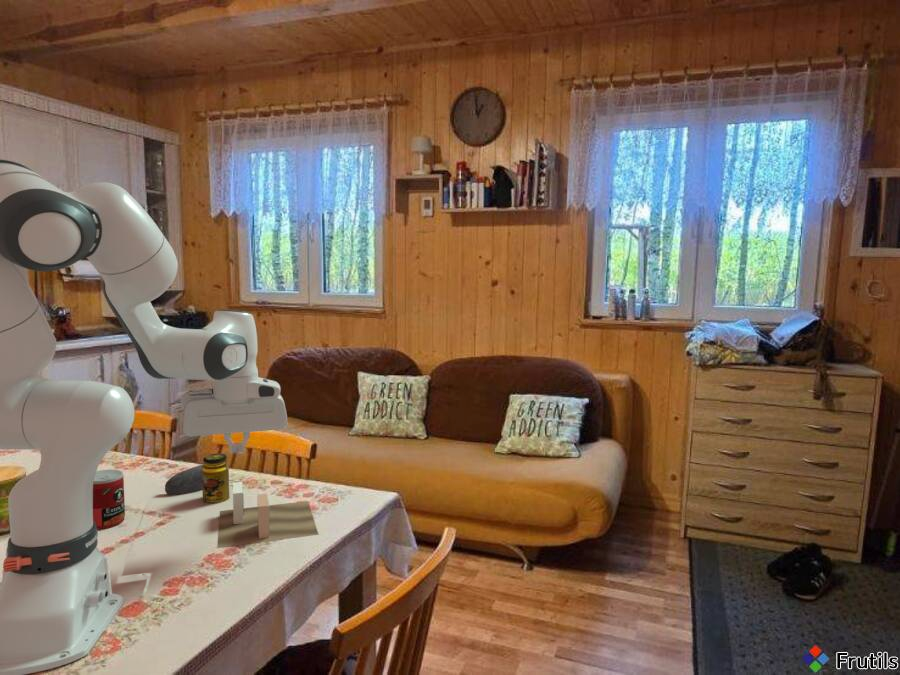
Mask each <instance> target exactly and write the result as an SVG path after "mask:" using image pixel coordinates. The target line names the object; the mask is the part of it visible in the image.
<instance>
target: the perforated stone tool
mask: <svg viewBox="0 0 900 675" xmlns="http://www.w3.org/2000/svg"><path fill="white" fill-rule="evenodd" d="M203 467H204V466H203V464H200V465H196V466H193V467H191V468H188V469H185V470H183V471H181V472H178V473H177V474H174V475H173V476H171V477H170V478H169V479H168V480H167V481H166V482H165V484H164V491H165V493H166V494H167V495H168V496H175V495H184V494H189V493H196V492H200V491H202V490H203V489H202V469H203Z"/></svg>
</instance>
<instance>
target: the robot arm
mask: <svg viewBox="0 0 900 675" xmlns="http://www.w3.org/2000/svg"><path fill="white" fill-rule="evenodd" d="M172 247H173V246H172V245H171V244H170V243H169V241H168V239H167V237H165V235H164V233H163V232H162V231H161V229H160V228H159V226H158V225H157V224H156V222H155V221H154V220H153V218H152V217H151V216H150V214H148V212H147V211H146V210H145V209H144V208H143V206H142V205H141V204H140V203H139V202H138V201H137V200H136V199H135V198H134V197H133V195H131V194H130V193H129V192H128V191H127V190H125V188H123V187H122V186H120V185H118V184H115V183H111V182H107V181H106V182H105V181H99V182H93V183H89V184H86V185H83V186H82V187H79V188H78V189H77V190H74V191H63V190H62V189H60V188H59V187H57V186H56V185H55V184H54V183H52V182H51V181H49V180H48V179H47V178H45V177H43V176H42V175H41V174H38V173H37V172H35V171H33V170H32V169H31V168H29V167H27V166H26V165H23V164H22V163H19V162H15V161H11V160H7V159H0V450H29V451H30V450H31V451H35V450H36V451H39V452H40V464H39V467H38V469H37V470H34V471H33V472H31V473H29V474H27V475H26V476H24V477H22V478H21V479H20V480H18V481H17V482H16V483H15V484H14V486H13V487H12V488H11V490H10V492H9V494H8V496H7V497H8V498H7V501H8V502H7V503H8V517H9V518H8V519H9V532H10V536H9V538H8V540H7V547H6V549H5V550H6V552H5V559H4V560H3V563H2V566H3V567H2V569H3V570H2V572H1V573H2V578H1V583H0V675H28V674H33V673H39V672H42V671H47V670H51V669H54V668H58V667H61V666H64V665H67V664H70V663H72V662H75V661H77V660H79V659H81V658H83V657H85V656H87V654H88V653H89V652H90V651H91V649H92V648H93V646H94V645H95V644H96V643H97V641H98V639H99V638H100V637H101V635H102V634H103V632H104V631H105V630H106V628H107V627H108V626H109V624H110V623H111V621H112V620H113V618H114V617H115V615H116V614H117V613H118V611H119V610H120V608H121V607H122V605H124V604H123V603H124V598H123V595H120V594H118V593H113V590H112V588H113V587H112V580H111V579H112V578H111V570H110V561H109V557H108V556H106V554H104V553H103V552H102V551H100V550H99V548H98V547H97V546H98V543H99V542H98V536H99V535H98V534H99V533H98V529H97V528H96V523H95V522H94V521H93V482H94V477H95V473H96V471H98V468H99V466H100V464H101V461H102V460H103V459H104V457H105V456H106V455H107V453H109V451H110V450H112V449H113V448H114V447H116V446H117V445H118V444H120V443H121V442H122V441H123V440H124V439H125V438H126V437H127V435H128V434H129V432H130V430H131V429H132V427H133V424H134V420H135V406H134V403H133V401H132V398H131V396H130V395H129V393H128V391H126V390H125V389H124V388H123V387H120V386H118V385H114V384H109V383H105V382H99V381H94V380H72V379H71V380H64V379H63V380H61V379H60V380H58V379H55V380H53V379H48V378H46V377H43V376H42V375H41V374H40V372H41V371H43V370H44V369H45V368H46V367H48V366H49V364H50V363H51V362H52V360H53V358H54V357H55V354H56V350H57V338H56V337H55V335H54V332H53V330H52V328H51V326H50V324H49V322H48V320H47V318H46V316H45V314H44V311H43V309H42V307H41V305H40V303H39V301H38V298H37V297H36V294H35V293H34V291H33V289H32V287H31V285H30V283H29V278H28V270H31V271H34V272H35V271H36V272H43V273H44V272H54V271H59V270H62V269H65V268H67V267H70V266H72V265H74V264H75V263H77V262H79V261H80V260H83V259H87V260H88V261H89V262H90V264H91V265H92V266H93V268H94V269H95V270H96V271H97V273H98V274H99V276H100V277H101V278H102V279H103V280H102V283H101V286H102V287H101V288H102V293H103V295H104V296H103V297H104V298H105V300H106V302H107V304H108V306H109V308H110V309H111V311H112V313H113V314H114V316H115V317H116V319H117V320H118V322H119V324H120V325H121V327H122V328H123V330H124V331H125V333H126V334H127V336H128V338H129V339H130V341H131V342H132V344H133V345H134V348H135V350H136V353H137V356H138V360H139V361H140V364H141V366H142V367H143V369H144V371H145V372H146V374H148V375H149V376H151V377H152V378H154V379H158V380H160V379H161V380H164V379H165V380H167V379H168V380H169V379H170V380H171V379H181V380H183V379H185V380H195V381H198V380H199V381H200V380H201V381H212V388H204V389H190V390H188V391H187V392H185V393H183V394H182V396H181V397H180V407H181V409H182V411H183V412H184V415H183V421H182V422H183V426H182V428H183V429H182V432H183V433H184V435H186V437H201V436H213V435H223V440H224V441H225V442H226V444H227V445H228V447H229V454H230V455H235V454H245V453H246V451H245V450H246V449H245V448H246V447H245V445H247V442H248V441H249V439H250V438H251V433H252V432H266V431H280V430H282V431H283V430H285V429H286V428H287V426H288V414H287V409H286V404H285V400H284V398H283V396H282V395H281V390H282V389H281V385H280V383H278V382H277V381H275V380H271V379H268V378H263V377H259V371H258V370H259V369H258V366H257V356H258V353H259V352H258V350H259V349H258V333H257V326H256V322H255V318H254V315H253V314H251V313H250V312H248V311H245V310H239V309H237V310H236V309H224V308H222V309H217V310H215V311H214V313H213V317H212V321H211V322H209V323H208V324H207V325H206V326H204V327H202V329H201V328H200V329H199V328H198V329H197V328H196V329H195V328H180V327H174V326H171V325H168V324H166V323H164V322H163V321H162V320H161V319H160V317H159V315H158V313H157V312H156V310H155V308H154V306H153V304H152V301H154V300H156V299H158V298H160V296H161V295H163V294H165V292H166V291H167V290H169V288H170V287H171V285H172V284H173V283H174V281H175V279H176V277H177V273H178V268H179V262H178V259H177V256H176V253H175V251H174V249H173V248H172ZM240 433H242V438H243V439H242V441H241V442H233V441H232V434H240Z"/></svg>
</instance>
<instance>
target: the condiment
mask: <svg viewBox="0 0 900 675" xmlns="http://www.w3.org/2000/svg"><path fill="white" fill-rule="evenodd" d="M227 460H228V458H227V454H226V453H220V452H218V453H210V454H207V455H204V457H203V464H202V465H203V466H204V467H203V469H202V489H203V490H201V491H202V501H203V503H205V504H210V505H211V504H214V505H215V504H221V503H224V502H226V501H228V500H229V499H230V472H229V471H230V468H229V466H228V461H227Z"/></svg>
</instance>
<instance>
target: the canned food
mask: <svg viewBox="0 0 900 675" xmlns="http://www.w3.org/2000/svg"><path fill="white" fill-rule="evenodd" d="M123 473H124V472H123V471H122V470H118V469H101V470H97V471H96V473H95V477H94V482H93V521H94V522H95V523H96V528H97V530H105V529H110V528H113V527H116V526H118V525H121V524H122V523H123V522H124V521H125V518H126V509H125V505H126V504H125V483H124V482H125V479H124V478H125V477H124V474H123Z"/></svg>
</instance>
